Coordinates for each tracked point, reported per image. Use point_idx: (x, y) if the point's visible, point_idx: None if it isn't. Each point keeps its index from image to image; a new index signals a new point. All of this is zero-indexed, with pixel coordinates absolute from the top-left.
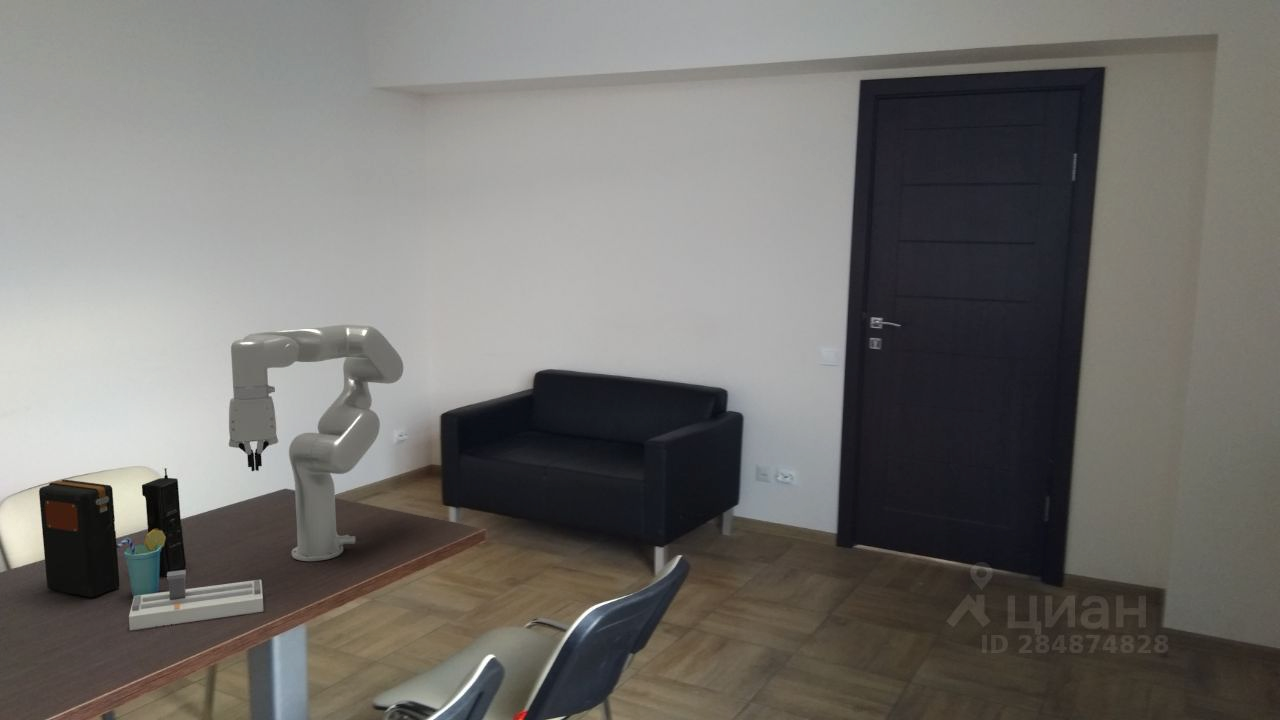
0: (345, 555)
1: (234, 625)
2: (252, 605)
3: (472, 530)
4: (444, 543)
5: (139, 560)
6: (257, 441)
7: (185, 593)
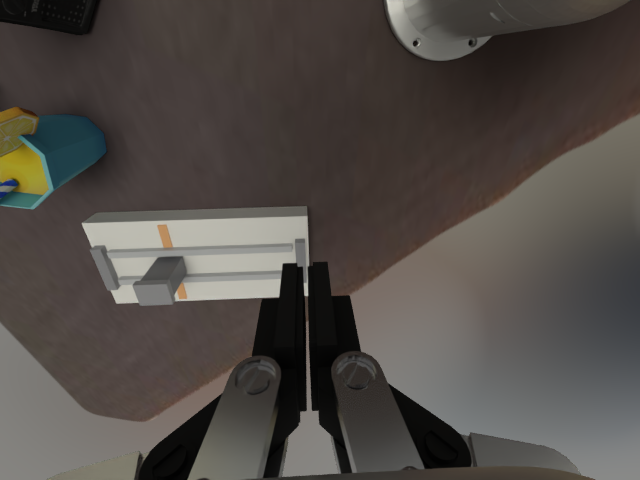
0: None
1: None
2: None
3: None
4: None
5: (26, 197)
6: (353, 467)
7: (181, 264)
